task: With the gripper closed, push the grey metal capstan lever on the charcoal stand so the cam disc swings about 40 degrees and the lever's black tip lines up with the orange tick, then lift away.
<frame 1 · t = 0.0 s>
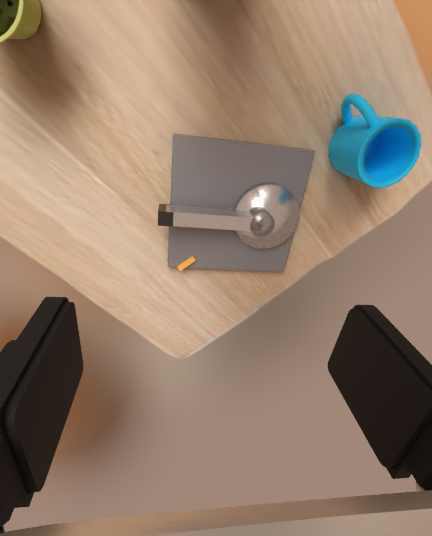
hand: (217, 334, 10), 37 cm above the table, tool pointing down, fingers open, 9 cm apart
mug: (349, 134, 43), on the table
plant pot: (12, 5, 32), on the table
capstan lever: (232, 218, 43), point 4 cm above the table, hinge at 0.0°
stand base: (234, 209, 47), on the table
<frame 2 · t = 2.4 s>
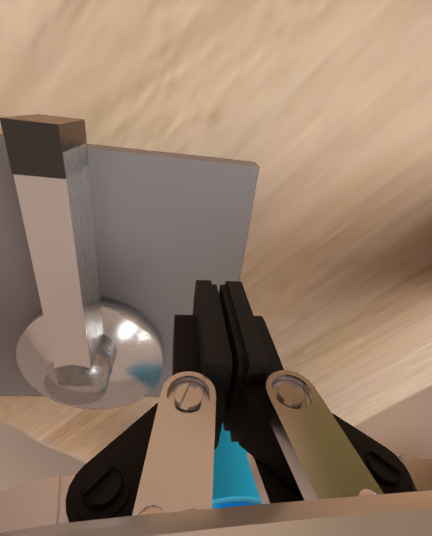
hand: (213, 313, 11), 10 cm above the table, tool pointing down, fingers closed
mug: (234, 416, 31), on the table
capstan lever: (80, 310, 18), point 4 cm above the table, hinge at 0.0°
stand base: (98, 289, 22), on the table
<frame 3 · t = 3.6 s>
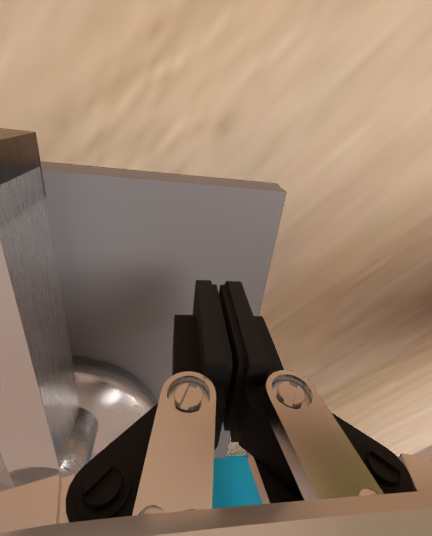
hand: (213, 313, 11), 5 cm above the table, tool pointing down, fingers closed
mug: (242, 469, 27), on the table
capstan lever: (45, 387, 13), point 4 cm above the table, hinge at 0.0°
stand base: (74, 342, 17), on the table
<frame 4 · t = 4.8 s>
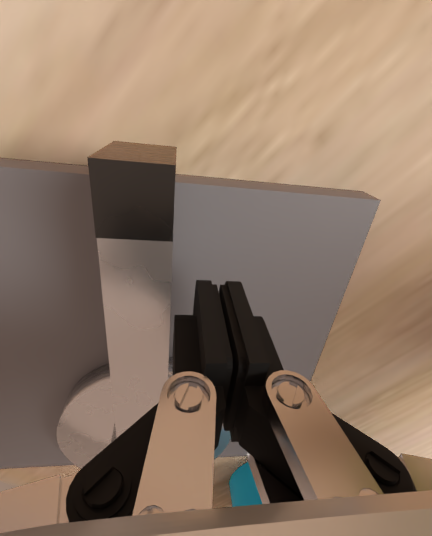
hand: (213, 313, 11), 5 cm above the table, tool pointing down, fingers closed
mug: (289, 466, 27), on the table
capstan lever: (146, 384, 14), point 4 cm above the table, hinge at 0.6°, touching gripper
stand base: (153, 342, 18), on the table
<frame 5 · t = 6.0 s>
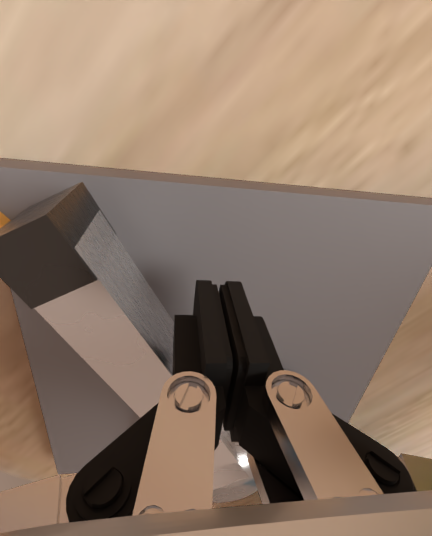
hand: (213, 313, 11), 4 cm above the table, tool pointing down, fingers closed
capstan lever: (192, 397, 14), point 4 cm above the table, hinge at 29.4°, touching gripper
stand base: (219, 346, 18), on the table
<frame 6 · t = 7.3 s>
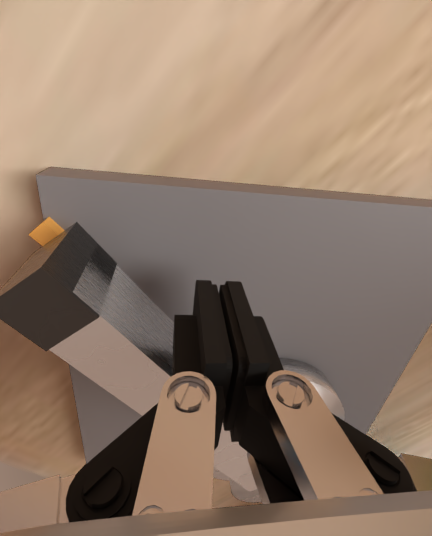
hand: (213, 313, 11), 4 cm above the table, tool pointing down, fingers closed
capstan lever: (218, 405, 14), point 4 cm above the table, hinge at 39.0°, touching gripper
stand base: (249, 348, 18), on the table
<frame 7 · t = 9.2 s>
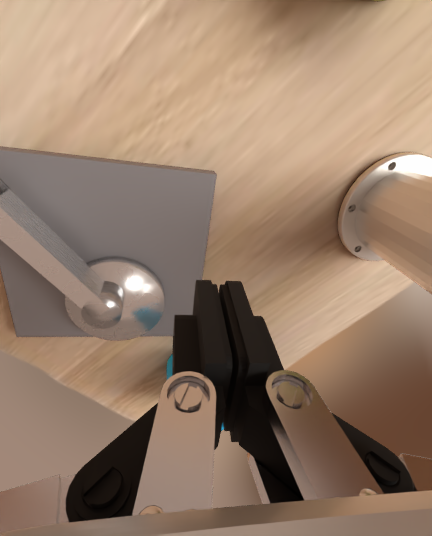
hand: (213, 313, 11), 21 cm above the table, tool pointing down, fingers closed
capstan lever: (75, 272, 28), point 4 cm above the table, hinge at 39.1°
stand base: (110, 256, 32), on the table
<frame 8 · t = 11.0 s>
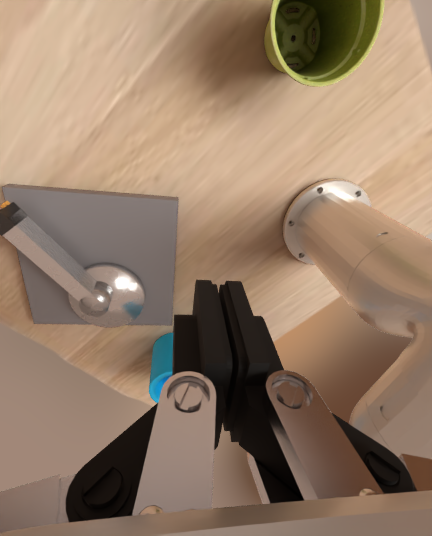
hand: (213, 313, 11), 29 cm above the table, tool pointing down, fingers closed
mug: (185, 343, 51), on the table
plant pot: (291, 38, 31), on the table
capstan lever: (75, 274, 37), point 4 cm above the table, hinge at 39.1°
stand base: (102, 262, 41), on the table
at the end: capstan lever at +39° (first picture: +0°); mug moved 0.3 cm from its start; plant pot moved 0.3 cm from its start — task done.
